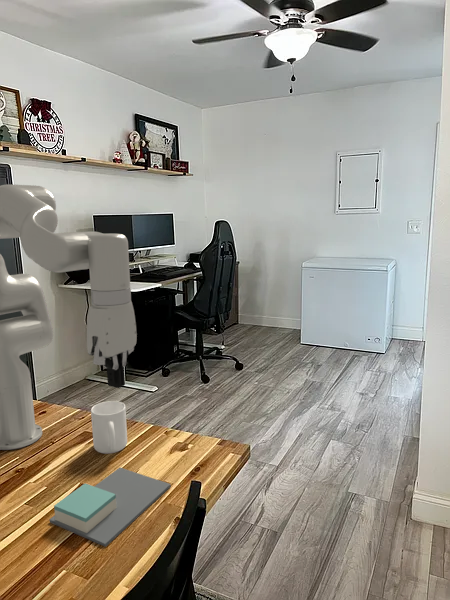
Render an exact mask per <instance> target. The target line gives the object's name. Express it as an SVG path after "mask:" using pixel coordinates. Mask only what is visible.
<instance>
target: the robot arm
mask: <svg viewBox="0 0 450 600" xmlns="http://www.w3.org/2000/svg"><path fill="white" fill-rule="evenodd" d="M56 210H57V203H56V200H55V197H54V195H53V193H52V192H51V191H50V190H48V189H47V188H45V187H43V186H41V185H34V184H33V185H28V184H2V185H0V240H2V239H3V240H4V239H17V238H19V239H20V243H21V247H22V249H23V251H24V253H25V255H26V256H27V257H28V258H29V259H30V260H31V261H32V262H34V263H35V264H37V265H38V266H39V267H41V268H43V269H45V270H47V271H49V272H53V273H66V272H67V273H68V272H73V271H81V270H88V269H89V281H90V282H89V283H90V297H91V298H90V299H91V305H90V306H89V307H88V312H87V319H86V349H87V354H88V355H89V356H93V362H92V363H93V365H98V366H103V367H104V368H105V369H106V376H107V385H108V387H111V388H117V389H120V388H122V387H124V386H125V385H126V379H125V378H126V375H125V367H126V365H127V358H128V357H129V355H130V354H131V353H132V352H135V351H134V350H135V346H136V344H137V340H138V339H137V337H138V336H137V335H138V333H137V322H136V315H135V309H134V305H133V302H132V294H131V292H132V290H131V276H130V275H131V274H130V271H131V270H130V257H129V241H128V238H127V237H126V235H124V234H122V233H102V232H99V231H93V230H92V231H70V232H67V231H66V232H56V230H57V227H58V221H59V219H58V218H59V217H58V215H57V212H56ZM16 312H21V314H22V316H16V317H11V318H6V319H1V320H0V451H1V450H2V451H7V450H9V451H10V450H16V449H21V448H24V447H26V446H29V445H32V444H34V443H35V442H37V441H38V440H39V439H40V438H41V437H42V435H43V427H41V425H39V424H37V423H36V420H35V408H34V401H33V399H34V398H33V397H34V396H33V388H32V378H31V372H30V368H29V367H28V365H26V363H25V362H23V360H21V357H20V356H21V355H22V356H23V355H24V354H28V353H30V352H35V351H38V350H41V349H44V348H46V347H48V346H49V345H50V344H51V343H52V341H53V339H54V329H53V328H54V327H53V323H52V320H51V316H50V312H49V308H48V304H47V301H46V297H45V293H44V290H43V287H42V285H41V283H40V282H39V281H38V279H37V277H35V276H33V275H31V274H28V273H17V274H11V275H10V274H9V272H8V270H7V266H6V262H5V259H4V257H3V256H2V254H1V253H0V316H2V315H6V314H11V313H12V314H13V313H16Z"/></svg>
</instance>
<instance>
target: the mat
mask: <svg viewBox="0 0 450 600" xmlns="http://www.w3.org/2000/svg"><path fill="white" fill-rule="evenodd" d="M93 486H94V487H97V488H100V489H102V490H105V491H108V492H111V493H113V494H116V509H115V510H113V511H112V512H111V513H110V514H109V515H108V516H106V517H105V518H104V519H103V520H102V521H100V522H99V523H98V524H97V525H96V526H95V527H93V528H92V529H91V530H90V531H89V532H88V533H85V532H83V531H81V530H78V529H76V528H74V527H71V526H69V525H67V524H64V523H62V522H59V521H57V520H55V515H53V516H52V517H51V518H49V523H51V524H53V525H55V526H57V527H60V528H62V529H65V531H69V532H70V533H74V534H75V535H77V536H80V537H82V538H84V539H87V540H90V541H92V542H93V543H96V544H98V545H99V546H100V545H101V546H103V547H107V546H109V544H110V543H112V542H113V541H114V540H115V539H116V538H117V537H118V536H119V535H120V534H121V533H122V532H123V531H124V530H126V529H127V527H129V526H130V525H131V524H132V523H133V522H135V521H136V519H138V518H139V516H141V515H142V514H143V513H144V512H145V511H146V510H147V509H148V508H149V507H150V506H151V505H153V504H154V503H155V502H156V501H157V500H158V499H159V498H160V497H161V496H163V494H164V493H166V492H167V491H168V490H169V489H170V488H171V487H172V483H168V482H166V481H162V480H159V479H156V478H154V477H150V476H147V475H144V474H141V473H138V472H136V471H131V470H129V469H126V468H123V467H119V468H117V469H116V470H114V471H113V472H112V473H110V474H109V475H108V476H106V477H105V478H103V479H102V480H101V481H100V482H98V483H96V485H93Z"/></svg>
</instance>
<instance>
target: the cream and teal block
mask: <svg viewBox="0 0 450 600" xmlns="http://www.w3.org/2000/svg"><path fill="white" fill-rule="evenodd" d="M94 486H95V485H91V484H89V483H86V482H85V483H83V484H82V485H81V486H80V487H78V488H76V490H74V491H72V492H71V493H70V494H68V495H67V496H65V497H64V498H63V499H62V500H59V502H57V503H56V504H55V505H53V507H54V516H55V520H57V521H59V522H62V523H64V524H67V525H69V526H71V527H74V528H76V529H78V530H81V531H83V532H85V533H88V532H89V531H90V530H91V529H92V528H93V527H95V526H96V525H97V524H98V523H99V522H100V521H102V520H103V519H104V518H105V517H106V516H108V515H109V514H110V513H111V512H112V511H113V510H115V509H116V494H113V493H111V492H108V491H105V490H102V489H100V488H97V487H94Z"/></svg>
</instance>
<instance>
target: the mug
mask: <svg viewBox="0 0 450 600" xmlns="http://www.w3.org/2000/svg"><path fill="white" fill-rule="evenodd" d="M90 414H91V417H90V418H91V427H92V431H91V432H92V441H93V442H92V443H93V449H94V450H95V452H98V453H101V454H107V455H108V454H114V453H119V452H120V451H122V450H123V449H124V448H125V447H126V446H127V444H128V431H127V430H128V429H127V428H128V426H127V413H126V404H125V403H124V402H122V401H118V400H109V401H103V402H99V403H97V404H94V405H93V406H92V407H91V409H90Z"/></svg>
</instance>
